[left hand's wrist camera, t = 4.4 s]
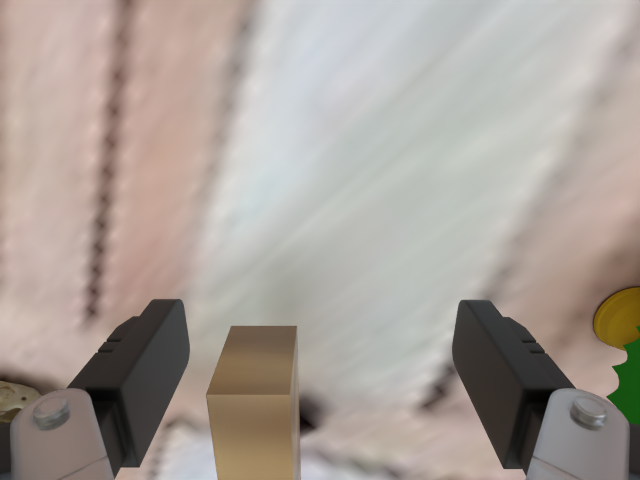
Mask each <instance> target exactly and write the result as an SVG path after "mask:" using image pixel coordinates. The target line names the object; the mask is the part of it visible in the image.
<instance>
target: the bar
mask: <svg viewBox="0 0 640 480" xmlns="http://www.w3.org/2000/svg"><path fill="white" fill-rule="evenodd" d="M206 398H207V405H208V412H209V419H210V427H211V434H212V441H213V448H214V456H215V463H216V470H217V477H218V480H301V464H300V426H299V387H298V349H297V326H231V328H230V331H229V334H228V337H227V339H226V342H225V345H224V347H223V350H222V353H221V356H220V358H219V361H218V364H217V367H216V369H215V372H214V375H213V377H212V380H211V383H210V386H209V388H208V391H207V394H206Z"/></svg>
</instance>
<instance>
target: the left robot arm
mask: <svg viewBox="0 0 640 480" xmlns="http://www.w3.org/2000/svg"><path fill="white" fill-rule="evenodd" d="M189 354H190V344H189V337H188V330H187V323H186V317H185V310H184V305H183V302H182V300H180V299H153V300H152V301H151V302H150V303H149V305H148V306H147V307H146V309H145V310H144V311H143V312H142V314H141V315H140V316H133V317H132V318H130V319H129V320H127V321H126V322H124V323H123V324H121V325H119V326H118V327H117V328H116V329H115V330H114V331H113V333H112V334H111V335H110V336H109V337H108V339H107V342H104V343H103V345H102V346H101V347H100V348H99V350H98V353H95V354H94V356H93V357H92V358H91V359H90V360H89V362H88V363H87V364H86V365H85V366H84V368H83V369H82V370H81V371H80V372H79V374H78V375H77V376H76V377H75V379H74V380H73V381H72V382H71V383H70V385H69V386H68V387H67V388H66V389H61V390H57V391H53V392H50V393H48V394H45V395H43V396H41V397H39V398H37V399H35V400H34V401H32V402H30V403H29V404H28V405H26V406H25V407H24V408H23V409H22V410H20V411H19V413H18V414H17V415H16V416H15V418H14V419H13V421H12V422H9V423H4V424H0V480H114V479H115V477H116V475H117V473H118V472H119V470H120V468H121V467H140V465H141V463H142V461H143V458H144V456H145V454H146V452H147V450H148V448H149V446H150V443H151V441H152V439H153V437H154V435H155V433H156V431H157V429H158V426H159V424H160V422H161V420H162V418H163V416H164V414H165V411H166V409H167V407H168V405H169V403H170V401H171V399H172V397H173V394H174V392H175V390H176V388H177V386H178V384H179V382H180V379H181V377H182V375H183V373H184V371H185V369H186V367H187V364H188V360H189ZM452 355H453V361H454V365H455V367H456V370H457V372H458V374H459V376H460V378H461V380H462V382H463V384H464V386H465V389H466V391H467V393H468V395H469V397H470V399H471V401H472V403H473V405H474V407H475V410H476V412H477V414H478V416H479V418H480V420H481V422H482V424H483V426H484V429H485V431H486V433H487V435H488V437H489V439H490V441H491V443H492V445H493V448H494V450H495V452H496V454H497V456H498V458H499V460H500V462H501V464H502V467H503V469H523V471H524V473H525V475H526V480H640V425H637V424H633V423H629V422H628V421H627V419H626V418H625V416H624V415H623V414H622V413H621V411H620V410H618V409H617V408H616V407H615V406H614V405H612V404H611V403H610V402H608V401H606V400H605V399H603V398H601V397H599V396H597V395H595V394H592V393H590V392H587V391H583V390H579V389H576V388H575V387H574V385H573V384H572V383H571V382H570V381H569V379H568V378H567V377H566V376H565V375H564V373H563V372H562V371H561V370H560V369H559V367H558V366H557V365H556V364H555V363H554V361H553V360H552V359H551V358H550V357H549V355H548V354H545V351H544V350H543V348H542V347H541V346H540V345H539V344H538V343H536V340H535V339H534V338H533V336H532V335H531V334H530V333H529V332H528V330H527V329H526V328H525V327H523V326H522V325H520V324H519V323H517V322H516V321H514V320H513V319H511V318H510V317H503V316H502V315H501V314H500V313H499V311H498V310H497V309H496V307H495V306H494V305H493V304H492V302H491V301H489V300H461V301H460V303H459V306H458V311H457V318H456V324H455V331H454V338H453V344H452Z"/></svg>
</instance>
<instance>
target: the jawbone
mask: <svg viewBox="0 0 640 480" xmlns="http://www.w3.org/2000/svg"><path fill="white" fill-rule="evenodd" d="M39 397H41V395H40V394H39V392H38V391H37V390H36V389H34V388H31V387H27V386H24V385H20V384H14V383H8V382H3V381H0V424H4V423H9V422H12V421H13V419H14V418H15V416H16V415H17V414H18V413H19V411H20V410H22V409H23V408H24V407H25V406H26V405H28V404H29V403H30V402H32V401H34V400H35V399H37V398H39ZM8 411H9V412H8ZM6 412H7V413H6Z"/></svg>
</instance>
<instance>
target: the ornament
mask: <svg viewBox="0 0 640 480" xmlns="http://www.w3.org/2000/svg"><path fill="white" fill-rule="evenodd" d="M594 331H595V333H596V335H597V337H598V338H599V339H600V340H602V341H603V342H604V343H606V344H608V345H610V346H612V347H616V348H618V349H620V350H624V351H626V352H627V355H628V357H627V361H626V362H625V363H623V364H620V365H616V366H612V367H613V369H614V370H615V371H616V373H617V374H618V377H619V386H618V389H617V390H616V391H614V392H613V393H612V394H610V395H608V396H607V398H608V399H609V400H610V401H611V402H612V403H613V404H614V405H615V406H616V407H617V409H618V410H620V411H621V413H622V414H623V415H624V416H625V418H626V419H627V421H628V422H629V423H633V424H637V425H640V287H636V288H629V289H625V290H623V291H620V292H618V293H616V294H614V295H613V296H611V297H610V298H608V299H607V300H606V301H605V302H604V303H603V304H602V305H601V307H600V308H599V309H598V311H597V313H596V315H595V318H594Z"/></svg>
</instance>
